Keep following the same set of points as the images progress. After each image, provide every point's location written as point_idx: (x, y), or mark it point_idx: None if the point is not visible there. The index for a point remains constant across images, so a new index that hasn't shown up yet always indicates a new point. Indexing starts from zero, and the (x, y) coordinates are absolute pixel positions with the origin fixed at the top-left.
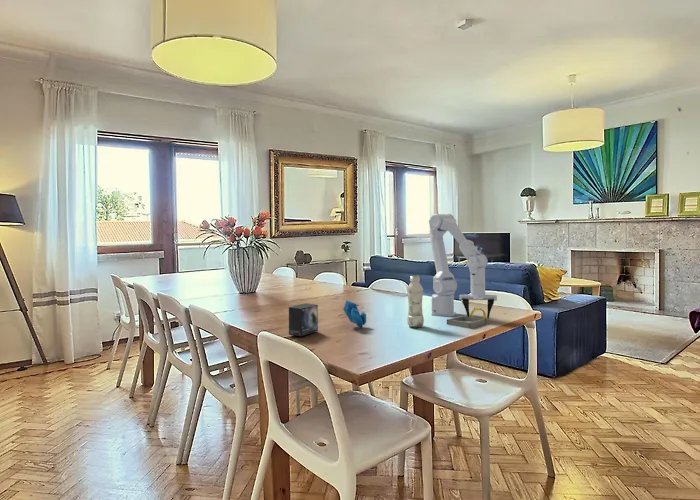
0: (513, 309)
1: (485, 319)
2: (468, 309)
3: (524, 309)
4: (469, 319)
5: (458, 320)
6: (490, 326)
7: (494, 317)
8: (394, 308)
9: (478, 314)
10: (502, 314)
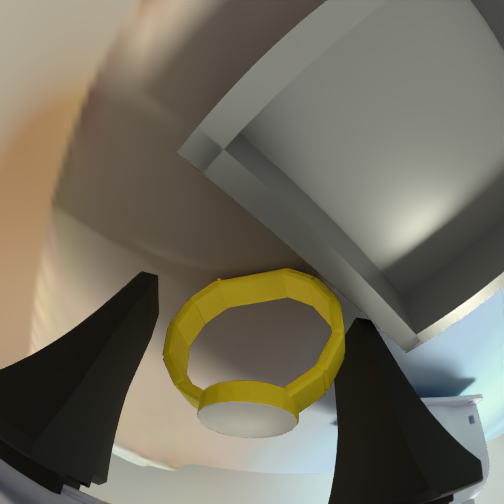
0: None
1: (182, 147)
2: (389, 396)
3: None
4: (370, 275)
5: (471, 264)
6: (157, 82)
7: (137, 384)
8: None
9: None
10: None
